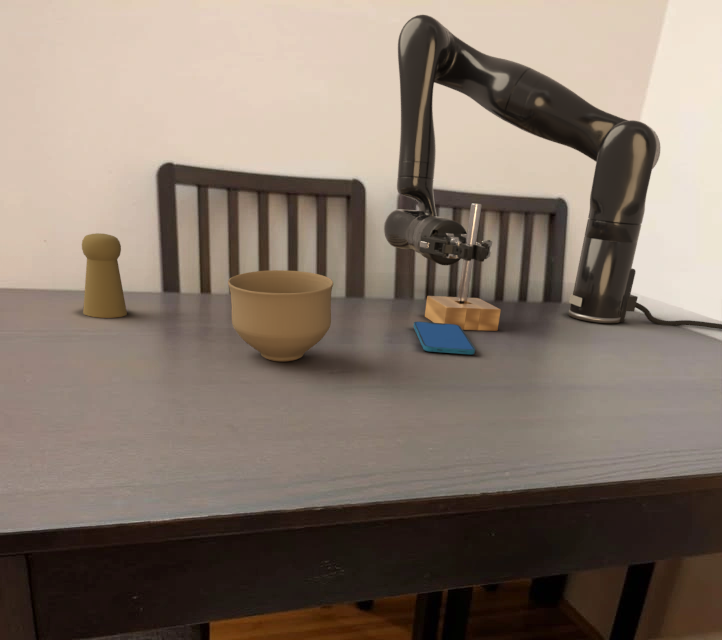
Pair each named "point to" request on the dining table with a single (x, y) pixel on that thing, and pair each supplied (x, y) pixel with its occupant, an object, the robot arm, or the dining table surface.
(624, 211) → the robot arm
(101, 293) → the game pawn piece
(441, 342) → the smartphone
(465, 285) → the stylus
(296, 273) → the bowl
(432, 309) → the holder
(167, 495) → the dining table surface
